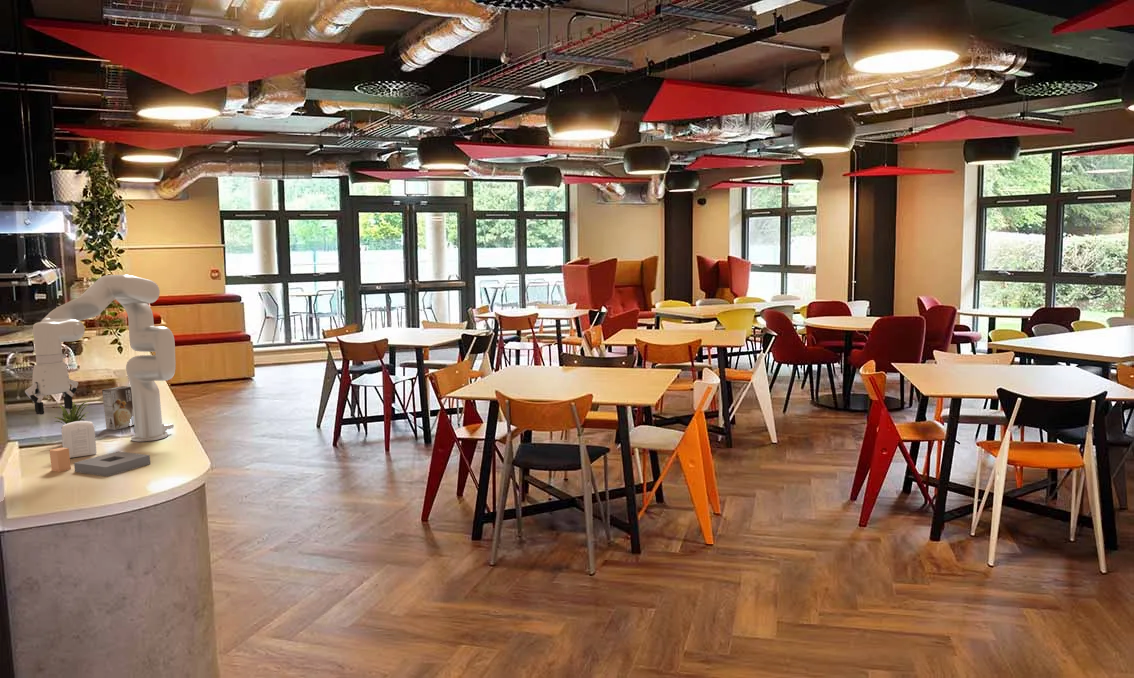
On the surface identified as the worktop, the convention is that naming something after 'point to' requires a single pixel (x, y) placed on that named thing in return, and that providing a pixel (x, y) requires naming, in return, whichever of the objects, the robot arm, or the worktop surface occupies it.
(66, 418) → the house plant
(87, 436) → the photo printer
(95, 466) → the grey square hole board
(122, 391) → the coffee box
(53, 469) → the orange rectangular block
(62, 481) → the worktop surface
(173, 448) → the worktop surface
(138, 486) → the worktop surface
